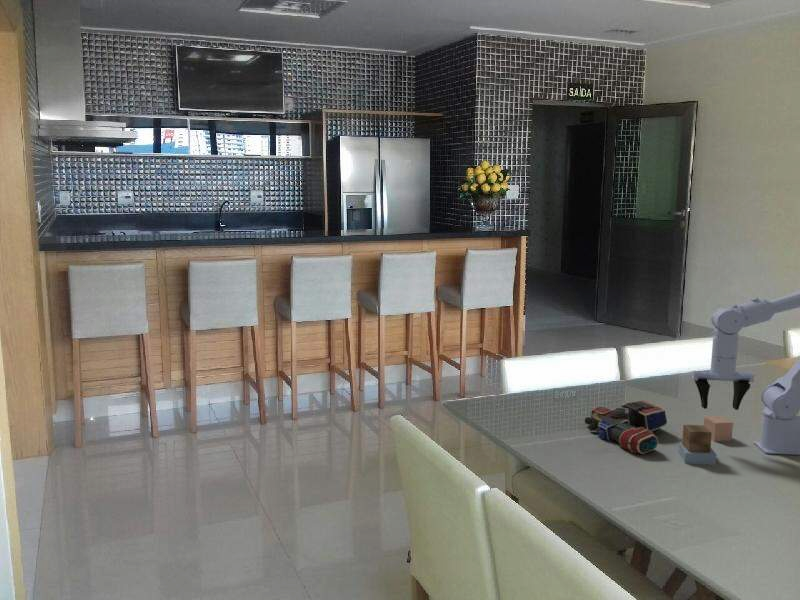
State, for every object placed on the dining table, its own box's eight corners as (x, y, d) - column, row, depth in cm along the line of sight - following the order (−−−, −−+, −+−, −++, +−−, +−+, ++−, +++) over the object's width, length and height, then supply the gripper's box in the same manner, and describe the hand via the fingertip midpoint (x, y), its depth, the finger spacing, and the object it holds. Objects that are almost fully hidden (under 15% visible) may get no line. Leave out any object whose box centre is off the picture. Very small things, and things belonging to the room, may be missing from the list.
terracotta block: (720, 434, 191) (721, 416, 190) (731, 440, 186) (733, 422, 185) (702, 435, 190) (704, 417, 189) (714, 441, 185) (715, 423, 184)
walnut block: (703, 444, 175) (704, 425, 175) (710, 452, 171) (711, 432, 170) (682, 444, 176) (683, 424, 175) (688, 451, 171) (690, 431, 170)
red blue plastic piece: (633, 440, 173) (698, 412, 179) (574, 412, 196) (633, 388, 202) (638, 469, 174) (702, 441, 180) (579, 438, 198) (637, 414, 204)
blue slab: (708, 456, 176) (708, 444, 176) (715, 466, 169) (716, 454, 169) (678, 454, 177) (679, 442, 177) (684, 464, 171) (685, 452, 170)
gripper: (748, 353, 182) (743, 404, 184) (689, 351, 183) (685, 402, 185) (759, 359, 175) (754, 412, 177) (698, 357, 176) (694, 410, 179)
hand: (719, 408), depth 181 cm, fingers open, 7 cm apart
